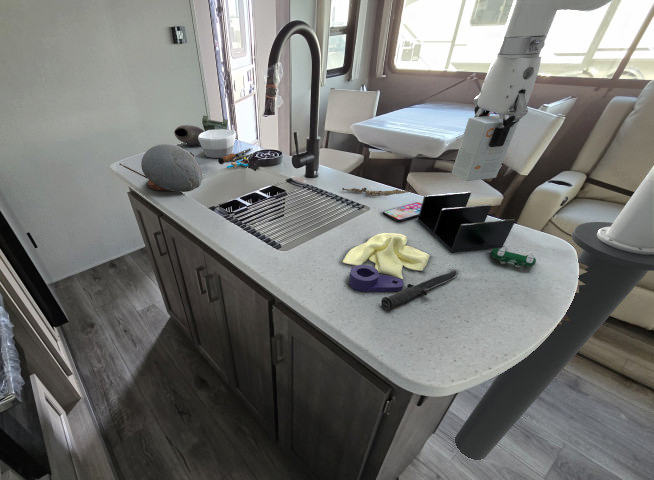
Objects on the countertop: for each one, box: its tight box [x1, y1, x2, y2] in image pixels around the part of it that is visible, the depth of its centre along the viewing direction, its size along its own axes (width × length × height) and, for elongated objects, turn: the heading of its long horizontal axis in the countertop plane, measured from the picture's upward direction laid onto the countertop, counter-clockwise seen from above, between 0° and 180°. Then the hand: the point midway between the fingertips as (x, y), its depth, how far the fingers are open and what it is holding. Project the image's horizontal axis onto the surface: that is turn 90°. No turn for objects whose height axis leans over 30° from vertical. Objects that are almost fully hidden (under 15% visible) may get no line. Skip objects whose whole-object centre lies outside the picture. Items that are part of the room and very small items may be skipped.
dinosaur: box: [229, 147, 255, 163], centre depth 152 cm, size 4×20×7 cm
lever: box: [348, 264, 405, 293], centre depth 74 cm, size 12×6×3 cm, turn 77°
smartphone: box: [382, 202, 422, 222], centre depth 102 cm, size 8×1×15 cm
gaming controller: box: [490, 246, 537, 269], centre depth 78 cm, size 9×4×6 cm
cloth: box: [342, 232, 431, 280], centre depth 82 cm, size 22×19×6 cm
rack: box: [416, 191, 517, 254], centre depth 89 cm, size 14×18×8 cm
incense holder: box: [119, 163, 170, 192], centre depth 129 cm, size 21×30×11 cm
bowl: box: [198, 129, 237, 159], centre depth 157 cm, size 18×18×9 cm
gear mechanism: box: [226, 150, 249, 169], centre depth 144 cm, size 20×5×9 cm
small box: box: [451, 114, 520, 182], centre depth 77 cm, size 8×6×13 cm
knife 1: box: [217, 148, 250, 165], centre depth 155 cm, size 25×3×5 cm
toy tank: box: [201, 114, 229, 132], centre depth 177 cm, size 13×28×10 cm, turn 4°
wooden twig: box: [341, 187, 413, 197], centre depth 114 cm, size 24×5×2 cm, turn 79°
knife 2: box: [380, 270, 458, 311], centre depth 72 cm, size 24×5×3 cm, turn 114°
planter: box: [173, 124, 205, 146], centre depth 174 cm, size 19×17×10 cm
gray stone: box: [140, 143, 203, 193], centre depth 123 cm, size 23×22×10 cm
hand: (485, 141), depth 76 cm, fingers closed on small box, 6 cm apart
